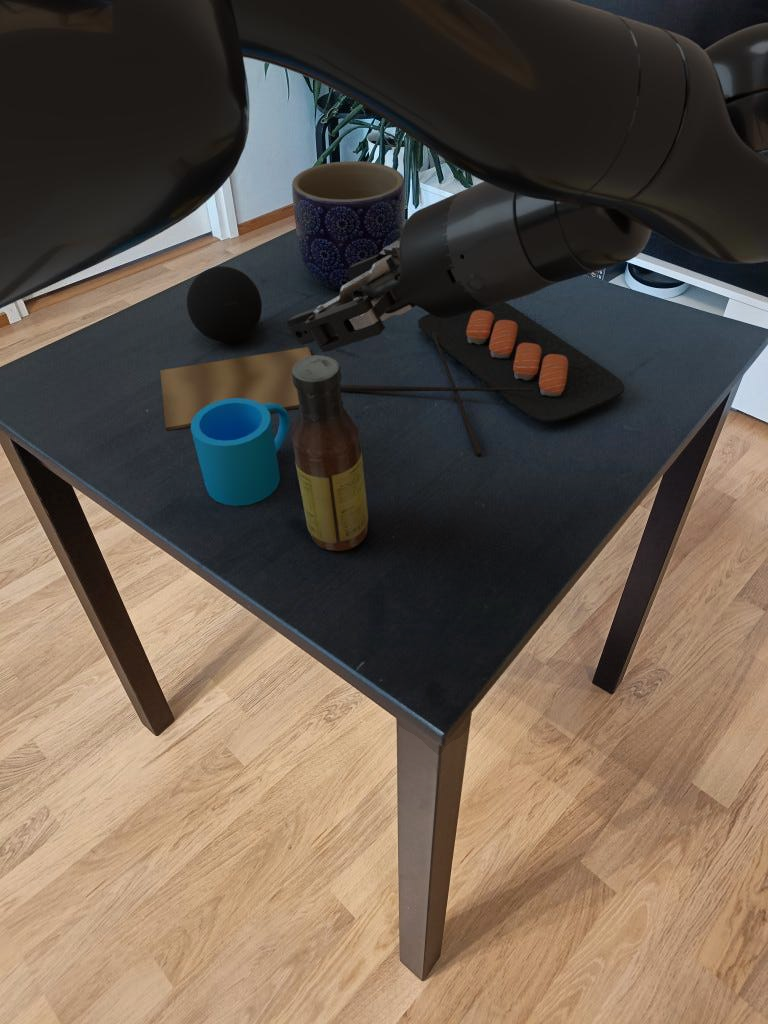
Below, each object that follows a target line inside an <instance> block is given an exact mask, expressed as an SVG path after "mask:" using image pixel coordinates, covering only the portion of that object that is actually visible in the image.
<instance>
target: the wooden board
mask: <svg viewBox="0 0 768 1024" xmlns="http://www.w3.org/2000/svg"><path fill="white" fill-rule="evenodd" d="M308 356H313V355H312V353H311V350H310V347H309V346H305V347H299V348H292V349H286V350H280V351H274V352H268V353H261V354H253V355H248V356H242V357H236V358H228V359H222V360H217V361H211V362H210V361H209V362H204V363H203V362H202V363H198V364H190V365H186V366H177V367H172V368H166V369H159V370H160V371H159V373H160V381H161V382H160V383H161V393H162V405H163V415H164V416H163V417H164V428H165V431H166V432H167V431H172V430H178V429H185V428H191V421H192V420H193V418H194V416H195V415H196V413H198V412H199V411H200V410H201V409H202V408H204V407H206V406H208V405H210V404H212V403H214V402H217V401H221V400H224V399H233V398H242V399H250V400H253V401H256V402H259V403H261V404H266V403H275V404H279V405H281V406H282V407H283V408H284V409H285V410H286V411H288V410H294V409H299V400H298V394H297V389H296V387H295V386H294V384H293V377H292V368H293V366H294V365H295V364H296V363H297V362H298V361H300V360H301V359H304V358H306V357H308ZM269 413H270V414H271V413H277V412H276V411H269Z"/></svg>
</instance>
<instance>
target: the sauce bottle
mask: <svg viewBox="0 0 768 1024" xmlns="http://www.w3.org/2000/svg"><path fill="white" fill-rule="evenodd" d="M292 377H293V384H294V386H295V387H296V389H297V394H298V400H299V408H298V411H299V412H298V415H297V417H296V419H295V421H294V424H293V426H292V427H291V432H290V437H291V441H292V447H293V453H294V463H295V469H296V473H297V479H298V484H299V490H300V494H301V500H302V506H303V512H304V516H305V517H304V518H305V522H306V527H307V530H308V532H309V535H310V537H311V538H312V540H313V542H314V543H315V544H316V545H317V547H319V548H320V549H324V550H327V551H334V552H344V551H348V550H352V549H354V548H355V547H357V546H358V545H360V544H361V543H362V542H364V540H365V538H366V536H367V533H368V530H369V510H368V502H367V501H368V500H367V491H366V482H365V473H364V471H365V470H364V462H363V452H362V447H361V444H360V438H359V436H360V435H359V428H358V426H357V425H356V424H355V423H354V421H353V419H352V418H351V417H350V415H349V414H348V412H347V410H346V409H345V408H344V402H343V400H342V393H341V392H342V391H340V386H341V382H342V372H341V366H340V364H339V362H338V361H337V360H336V359H334V358H333V357H330V356H326V355H322V354H321V355H319V354H314V355H312V356H308V357H306V358H304V359H301V360H300V361H298V362H297V363H296V364H295V365H294V366H293V368H292Z"/></svg>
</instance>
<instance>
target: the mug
mask: <svg viewBox="0 0 768 1024" xmlns="http://www.w3.org/2000/svg"><path fill="white" fill-rule="evenodd" d="M269 411H276V412H275V413H277V415H278V418H279V426H278V428H277V429H278V430H277V433H276V435H275V437H274V429H273V424H272V417H271V416H272V415H271V413H269ZM289 429H290V416H289V413H288V410H285V409H284V408H283V407H282V406H281V405H279V404H275V403H266V404H261V403H259V402H256V401H253V400H250V399H242V398H233V399H224V400H221V401H217V402H214V403H212V404H210V405H208V406H206V407H204V408H202V409H201V410H200V411H199V412H198V413H196V415H195V416H194V418H193V420H192V421H191V426H190V432H191V436H192V439H193V443H194V446H195V450H196V454H197V457H198V462H199V467H200V471H201V475H202V478H203V482H204V485H205V489H206V491H207V494H208V495H209V497H211V498H212V499H213V500H214V501H216V502H217V503H220V504H223V505H225V506H234V507H240V506H241V507H242V506H249V505H252V504H256V503H258V502H261V501H263V500H264V499H266V498H268V497H270V496H271V495H272V494H273V493H274V492H275V491H276V489H277V488H278V487H279V483H280V481H281V479H280V478H281V475H280V467H279V461H278V455H277V453H278V452H279V451H280V449H281V448H282V446H283V444H284V443H285V440H286V439H287V437H288V432H289Z"/></svg>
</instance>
